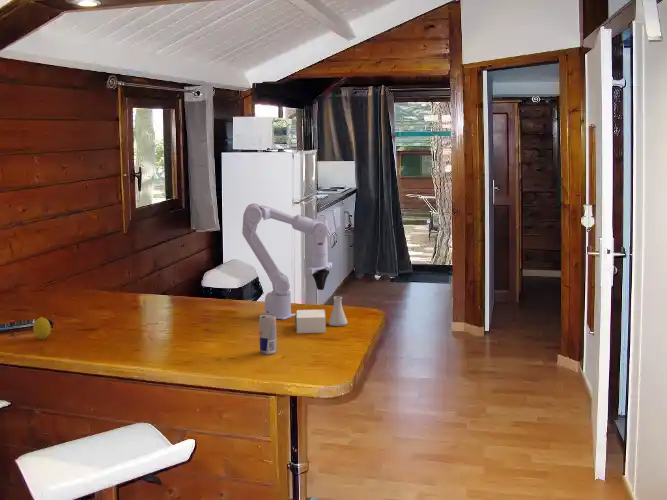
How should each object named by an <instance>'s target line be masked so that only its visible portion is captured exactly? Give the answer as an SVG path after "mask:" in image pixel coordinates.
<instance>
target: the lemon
mask: <svg viewBox="0 0 667 500" xmlns="http://www.w3.org/2000/svg"><path fill="white" fill-rule="evenodd" d="M32 328H33V329H32V330H33V333H34V335H35V337H36V338H39V339H41V340H42V339H43V340H45V339H46V338H47V337H48V336H49V335H50V334H51V324H50V322H49V320H48V319H47V318H45V317H43V316H40V317H39V318H37V319H36V320H35V321H34V322H33V327H32ZM44 338H45V339H44Z"/></svg>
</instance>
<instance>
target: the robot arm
mask: <svg viewBox="0 0 667 500" xmlns="http://www.w3.org/2000/svg"><path fill="white" fill-rule="evenodd" d="M242 215H243V216H242V231H241V233H242V236H243V238H244V239H245V241H246V243H247V245H249V247H250V249H251V251H252V252H253V253H254V255H255V257H256V259H257V260H258V262H259V263H260V265H261V267H262V268H263V270H264V271H265V273H266V275H267V276H268V279H269V281H270V282H271V284H272V291H270V292H267V293H266V295H265V297H264V314H273V315H275V317H276V320H277V319H278V320H282V321H283V320H287V319H289V318H292V317H295V316H296V313H292V308H291V307H292V303H291V302H292V301H291V299H292V298H291V291H290V287H291V286H290V282H289V278H288V276H287V275H286V274H284V273H283V272H282V271H281V269H280V268H279V267H278V266H277V264H276V263H275V260H274V259H273V257H272V256H271V255H270V253H269V251H268V250H267V248H266V246H265V245H264V243H263V242H262V240H261V238H260V237H259V235H258V233H257V232H256V231H257V228H258V224H259V223H260V222H261V220H262V218H263V221H266V220H270V219H273V220H276V221H279V222H282V223H285V224H287V225H291V228H292V229H293V230H296V231H298V232H302V233H304V234H307V235H312V243H311V245H312V246H311V247H312V249H311V250H312V251H311V253H312V255H311V256H312V258H311V259H312V265H311V266H310V267H309V268H307V274H308V275H312V277H313V279H314V282H315V285H316V289H317V290H318V291H322V290H323V291H324V289H325V286H326V282H327V278H328V275H330V270H329V269H332V268H333V262H330V261H329V260H328V259H329V256H328V255H329V253H328V250H329V249H328V245H329V244H328V235H329V230H328V226H327V225H326V224H325V223H324V222H322V221H321V220H318V219H317V218H314V219H312V218H310V217H307V216H306V215H305V214H303V213H301V214H296V215H295V216H293V215H291V214H288V213H286V212H283V211H281V210H278V209H276V208H273V207H270V206H266V205H262V204H261V205H259V204H258V203H250V204H248V205H247V206H246V207H245V210H244V212H243V214H242Z"/></svg>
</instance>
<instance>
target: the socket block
mask: <svg viewBox="0 0 667 500" xmlns="http://www.w3.org/2000/svg"><path fill="white" fill-rule="evenodd" d="M295 314H296V315H295V316H296V317H295V316H294V319H295V318H296V330H295V332H296V334H319V333H322V334H324V333H326V332H327V331H326V330H327V329H326V310H325V309H297V310H296V312H295Z"/></svg>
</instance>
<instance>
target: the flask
mask: <svg viewBox="0 0 667 500" xmlns="http://www.w3.org/2000/svg"><path fill="white" fill-rule="evenodd" d="M342 300H343V297H342V296H338V295H337V296H333V308H332V309H331V310H332V311H331V314H330V317H329V319H328V323H327V324H328V325H329V326H331V327H342V326H347V325H348V324H349V323H348V320H347V317H346V314H345V311H344V309H343V304H342Z"/></svg>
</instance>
